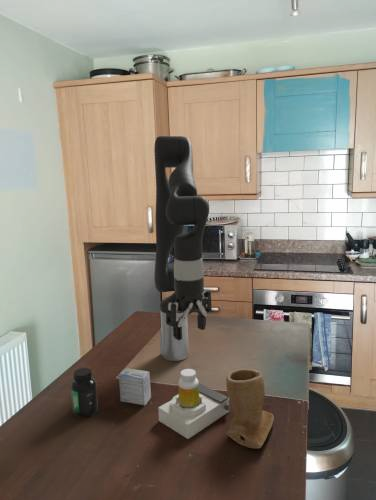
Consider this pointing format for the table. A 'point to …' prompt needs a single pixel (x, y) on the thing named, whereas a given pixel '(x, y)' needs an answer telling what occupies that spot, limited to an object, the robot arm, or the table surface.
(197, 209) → the robot arm
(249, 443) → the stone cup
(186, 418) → the white recessed base
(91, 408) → the supplement bottle
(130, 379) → the medicine box
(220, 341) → the table surface
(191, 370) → the supplement bottle
